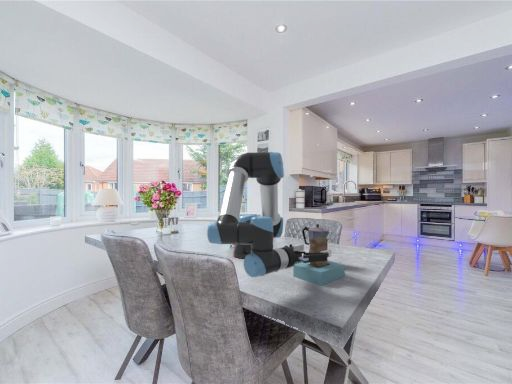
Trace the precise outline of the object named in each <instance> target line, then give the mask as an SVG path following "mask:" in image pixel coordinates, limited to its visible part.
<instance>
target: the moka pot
mask: <svg viewBox="0 0 512 384" xmlns="http://www.w3.org/2000/svg"><path fill="white" fill-rule="evenodd" d="M305 231H306V232H308V241H307V237H306V233H305ZM301 233H302V236H303V241H304V245H307V246H310V239H313V238H319V237H321V238H327V239H328V236H329V234H330V231H329V230H327V229H325V228H323V227H320V224H319V223H317V224H315V227H308V226H304V227H303V228H302V230H301ZM308 250H309V251H308V253H310V248H309V249H308Z"/></svg>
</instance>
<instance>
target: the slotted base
mask: <svg viewBox="0 0 512 384" xmlns="http://www.w3.org/2000/svg"><path fill="white" fill-rule="evenodd" d="M292 267H293V270H292V271H293V277H294V278H297V279H300V280H303V281H307V282H310V283H312V284H316V285H317V286H318V285H319V286H324V285H326V284H328V283H332V282H333V281H336V280H339V279H341V278H342V277H345V264H344V263H340V262H335V261H330V260H328V265H327V266H324V267H321V268H316V267H313V266H310V262H308V263H303V261H300V262H296V263H295V264H294V266H292Z"/></svg>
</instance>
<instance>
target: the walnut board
mask: <svg viewBox="0 0 512 384" xmlns="http://www.w3.org/2000/svg"><path fill="white" fill-rule="evenodd" d="M328 242H329V241H328V237H327V238H321V237H319V238H313V239H310V244H309V249H310V253H320V252H321V251H325V250H329V248H328ZM328 259H329V257H327V261H324V262H323V261H319V262H310V266H313V267H316V268H321V267H324V266H327V265H328V261H329V260H328Z"/></svg>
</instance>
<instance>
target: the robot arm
mask: <svg viewBox="0 0 512 384" xmlns="http://www.w3.org/2000/svg"><path fill="white" fill-rule="evenodd" d="M284 171H285V170H284V162H283V157H282V153H280V152H277V151H275V152H274V151H268V152H244V153H242V154H240V155H239V156H237V157H236V158H235V159H234V160H233V161H232V162H230V164H229V166H228V167H227V172H226V178H227V179H226V183H225V184H226V185H225V188H224V192H223V197H222V200H221V205H220V208H219V212H218V216H217V219H216V221H211V222H209V224H208V225H207V232H206V233H207V235H206V237H207V240H208V242H209V243H211V244H214V245H215V244H216V245H234V249H233V253H232V255H233V257H234V258H237V259H242V260H243V268H244V271H245V273H246V274H247V275H248V276H249V277H251V278H258V277H263V276H265V275H268V274H272V273H278V272H279V271H282V270H284V269H290V268H292V267H293V266H294V264H297V263H300V262H303V263H308V262H319V261H323V262H324V261H327V257H328V258H331V257H332V248H331V249H329V248H328V250H325V251H321V252H320V253H309V252H306V251H305V246H304V245H305V243H301V244H297V245H293V244H291V243H290V244H289V245H285V246H283V247H278V248H274V239H276V238H277V239H278V238H281V237H282V235H283V231H284V217H282V216H281V215H280V213H279V203H278V201H279V200H278V195H279V194H278V193H279V192H278V191H279V189H278V188H279V186H278V185H279V183H280V182H281V180H282V178H284V176H285V174H284V173H285V172H284ZM249 179H256V182H257V183H258V184H259V190H260V201H261V202H260V204H261V214H260V215H259V216H258V215H257V214H255V213H254V214H243V215H240V214H241V209H242V203H243V197H244V189H245V183H246V182H248V180H249Z"/></svg>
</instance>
